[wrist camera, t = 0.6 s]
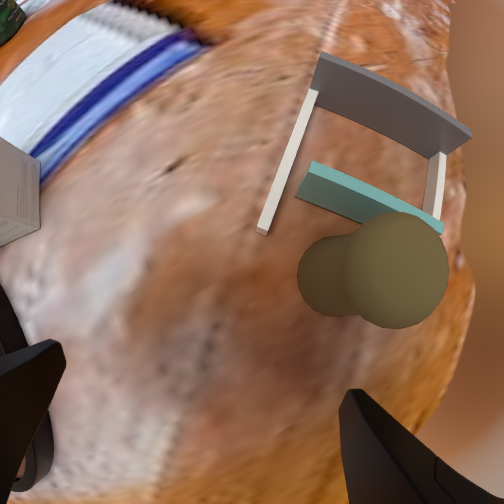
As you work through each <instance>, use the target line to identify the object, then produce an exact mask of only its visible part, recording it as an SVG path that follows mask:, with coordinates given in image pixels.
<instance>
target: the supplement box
mask: <svg viewBox="0 0 504 504" xmlns="http://www.w3.org/2000/svg"><path fill="white" fill-rule="evenodd" d="M39 183H40V162H39V161H38V160H36V159H34V158H33V157H31V156H30V155H28V154H26V153H25V152H23V151H22V150H20V149H18V148H17V147H15V146H14V145H12V144H11V143H9V142H7V141H6V140H4V139H3V138H1V137H0V246H2V245H5V244H7V243H9V242H11V241H13V240H15V239H18V238H20V237H22V236H24V235H26V234H29V233H31V232H33V231H35V230H38V229H39V228H40V215H39Z"/></svg>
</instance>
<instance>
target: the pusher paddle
mask: <svg viewBox="0 0 504 504" xmlns="http://www.w3.org/2000/svg"><path fill="white" fill-rule="evenodd" d="M295 197H298V198H300V199H303V200H305V201H308V202H310V203H313V204H315V205H318V206H320V207H323V208H325V209H328V210H330V211H333V212H335V213H338V214H340V215H342V216H345V217H347V218H350V219H352V220H354V221H357V222H359V223H361V224H363V223H365V222H367V221H368V220H370V219H372V218H374V217H376V216H378V215H380V214H382V213H392V212H405V213H408V214H412V215H415V216H418V217H419V218H421V219H422V220H423V221H425V222H426V223H427V224H429V225H430V226H431V227H433V229H434V230H435V231H436V233H437V234H438V235H442V234H443V229H444V223H443V222H441V221H439V220H438V219H436V218H434V217H432V216H430V215H429V214H427V213H425V212H423V211H421V210H419V209H417V208H416V207H414V206H412V205H410V204H408V203H406V202H404V201H402V200H400V199H398V198H396V197H394V196H392V195H390V194H388V193H386V192H384V191H382V190H380V189H377V188H375V187H373V186H371V185H369V184H367V183H365V182H362V181H360V180H358V179H356V178H353V177H351V176H349V175H346V174H344V173H342V172H339V171H337V170H335V169H332V168H330V167H327V166H325V165H323V164H320V163H318V162H315V161H312V162H311V164H310V165H309V167H308V169H307V171H306V173H305V175H304V177H303V179H302V181H301V183H300V185H299V186H298V189H297V192H296V195H295Z"/></svg>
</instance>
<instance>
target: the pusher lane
mask: <svg viewBox="0 0 504 504" xmlns="http://www.w3.org/2000/svg"><path fill="white" fill-rule="evenodd" d="M314 105H316V106H319V107H321V108H324V109H326V110H329V111H331V112H334V113H336V114H339V115H341V116H344V117H346V118H348V119H351V120H353V121H355V122H357V123H360V124H362V125H364V126H366V127H368V128H371V129H373V130H375V131H377V132H379V133H381V134H383V135H385V136H387V137H389V138H391V139H393V140H395V141H397V142H399V143H401V144H402V145H404V146H406V147H408V148H410V149H412V150H413V151H415V152H417V153H419V154H420V155H422V156H424V157H426V158H427V159H429V163H428V172H427V180H426V187H425V194H424V200H423V206H422V211H423V212H425V213H427V214H429V215H430V216H432V217H434V218H436V219H438V220H440V214H441V207H442V199H443V191H444V181H445V169H446V155H448V154H449V153H451V152H452V151H454V150H455V149H457V148H458V147H459V146H461V145H462V144H464V143H465V142H467V141H468V140H469V139H471V138H472V131H471V130H470V129H469V128H467V127H466V126H465V125H463V124H462V123H460V122H459V121H458V120H456V119H455V118H453V117H452V116H450V115H449V114H447V113H446V112H444V111H443V110H441V109H440V108H438V107H437V106H435V105H433V104H432V103H430V102H428V101H427V100H425V99H423V98H422V97H420V96H418V95H417V94H415V93H413V92H411V91H409V90H408V89H406V88H404V87H402V86H400V85H398V84H396V83H394V82H392V81H391V80H389V79H387V78H384V77H382V76H380V75H378V74H376V73H374V72H372V71H370V70H367V69H365V68H363V67H361V66H358V65H356V64H354V63H351V62H349V61H346V60H344V59H341V58H339V57H336V56H333V55H331V54H328V53H325V52H321V54H320V57H319V60H318V63H317V66H316V69H315V72H314V76H313V79H312V82H311V85H310V88H309V91H308V94H307V96H306V99H305V101H304V104H303V107H302V109H301V112H300V114H299V117H298V120H297V122H296V125H295V127H294V130H293V133H292V135H291V138H290V140H289V143H288V146H287V148H286V151H285V153H284V156H283V159H282V161H281V164H280V166H279V169H278V172H277V174H276V177H275V180H274V182H273V185H272V187H271V190H270V193H269V195H268V198H267V201H266V203H265V206H264V208H263V211H262V214H261V216H260V219H259V222H258V224H257V228H256V232H258V233H261V234H263V235H267V232H268V229H269V227H270V224H271V221H272V219H273V216H274V213H275V211H276V208H277V205H278V202H279V200H280V197H281V194H282V191H283V189H284V186H285V183H286V181H287V178H288V175H289V172H290V170H291V167H292V164H293V161H294V159H295V156H296V153H297V150H298V148H299V145H300V142H301V139H302V137H303V134H304V131H305V128H306V126H307V123H308V120H309V117H310V114H311V112H312V109H313V106H314Z"/></svg>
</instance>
